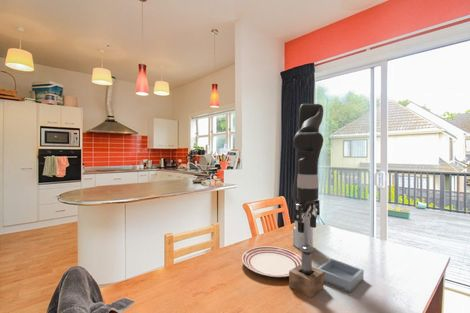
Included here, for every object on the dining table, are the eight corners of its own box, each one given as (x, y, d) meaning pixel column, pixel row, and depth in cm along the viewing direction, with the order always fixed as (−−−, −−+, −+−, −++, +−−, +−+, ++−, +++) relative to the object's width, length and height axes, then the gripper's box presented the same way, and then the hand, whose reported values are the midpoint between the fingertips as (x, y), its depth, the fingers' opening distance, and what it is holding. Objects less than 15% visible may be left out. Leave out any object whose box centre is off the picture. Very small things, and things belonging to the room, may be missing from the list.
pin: (296, 287, 87) (297, 247, 86) (303, 282, 90) (304, 243, 90) (308, 293, 83) (309, 251, 83) (315, 287, 86) (316, 247, 86)
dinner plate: (315, 265, 104) (315, 258, 104) (283, 292, 84) (283, 283, 84) (265, 247, 123) (265, 241, 123) (229, 266, 103) (229, 258, 102)
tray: (316, 278, 93) (316, 268, 93) (331, 267, 101) (331, 258, 101) (350, 293, 83) (350, 282, 83) (363, 279, 92) (363, 269, 92)
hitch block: (289, 286, 87) (289, 270, 87) (302, 278, 93) (302, 263, 93) (311, 297, 80) (311, 280, 80) (323, 287, 86) (323, 271, 86)
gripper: (308, 183, 93) (308, 223, 94) (287, 186, 84) (287, 231, 84) (326, 185, 88) (325, 228, 88) (306, 189, 78) (306, 237, 79)
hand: (307, 229), depth 86 cm, fingers open, 8 cm apart
